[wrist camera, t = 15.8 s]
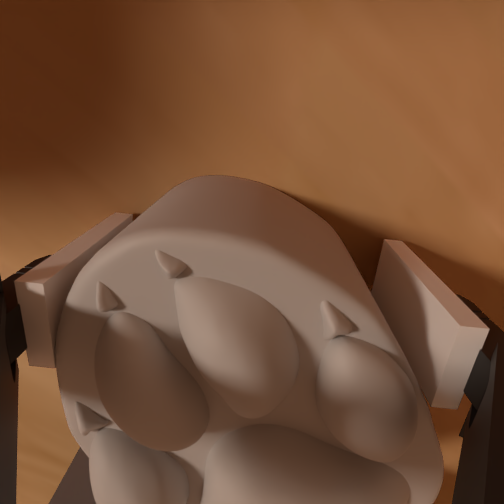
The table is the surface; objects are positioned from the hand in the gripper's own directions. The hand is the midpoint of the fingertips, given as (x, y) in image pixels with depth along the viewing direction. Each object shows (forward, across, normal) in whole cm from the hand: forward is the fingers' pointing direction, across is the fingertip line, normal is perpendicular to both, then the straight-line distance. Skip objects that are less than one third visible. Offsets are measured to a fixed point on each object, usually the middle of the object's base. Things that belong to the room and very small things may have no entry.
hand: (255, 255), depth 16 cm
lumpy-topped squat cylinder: (+1, 0, -3) cm, 3 cm away
